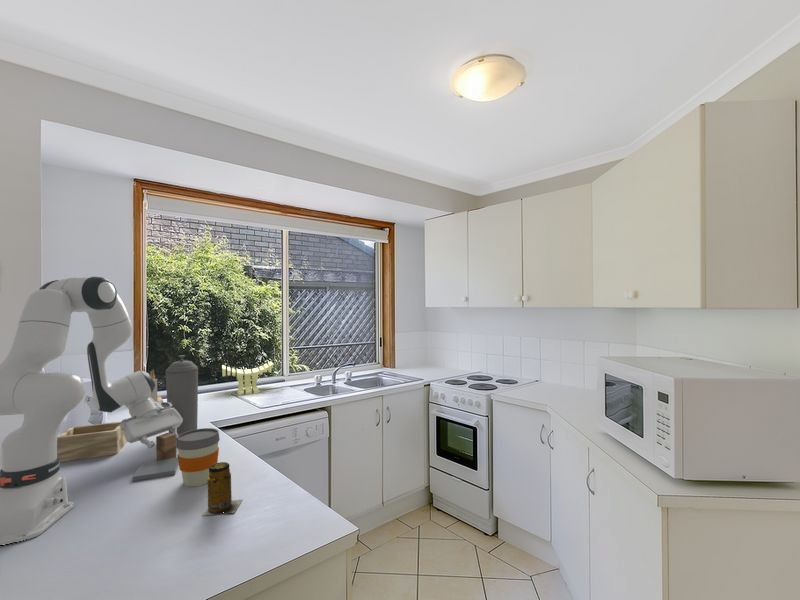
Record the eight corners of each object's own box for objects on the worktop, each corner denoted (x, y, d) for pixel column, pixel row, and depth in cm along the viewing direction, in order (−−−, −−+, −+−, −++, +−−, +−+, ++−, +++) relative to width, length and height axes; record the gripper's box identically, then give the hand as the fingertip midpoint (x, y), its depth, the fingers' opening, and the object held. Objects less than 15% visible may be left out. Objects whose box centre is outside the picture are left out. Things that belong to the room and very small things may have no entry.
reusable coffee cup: (178, 493, 117) (177, 444, 117) (175, 478, 128) (174, 432, 128) (223, 482, 124) (222, 435, 124) (217, 468, 135) (216, 425, 135)
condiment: (212, 502, 112) (211, 461, 112) (242, 500, 113) (241, 459, 113) (201, 516, 105) (201, 472, 105) (234, 514, 106) (233, 470, 106)
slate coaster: (175, 474, 131) (174, 470, 131) (132, 481, 126) (132, 476, 126) (180, 461, 142) (180, 457, 142) (141, 467, 137) (141, 462, 137)
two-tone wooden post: (144, 426, 184) (143, 372, 184) (142, 420, 193) (141, 369, 193) (163, 422, 189) (163, 370, 189) (160, 417, 198) (159, 367, 198)
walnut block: (176, 458, 145) (175, 434, 145) (164, 462, 140) (164, 438, 140) (168, 456, 146) (167, 432, 146) (156, 461, 142) (156, 436, 142)
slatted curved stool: (271, 386, 264) (270, 360, 264) (273, 391, 250) (273, 363, 250) (222, 391, 252) (222, 364, 252) (222, 396, 238) (222, 367, 238)
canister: (205, 432, 173) (204, 354, 173) (179, 441, 162) (177, 358, 162) (186, 428, 179) (185, 352, 179) (159, 437, 167) (158, 356, 167)
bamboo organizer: (117, 453, 150) (116, 430, 150) (57, 462, 143) (56, 437, 143) (126, 442, 162) (126, 420, 162) (71, 449, 155) (71, 427, 155)
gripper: (121, 415, 137) (140, 447, 133) (174, 401, 156) (192, 428, 152) (113, 427, 139) (131, 458, 135) (167, 411, 158) (184, 438, 154)
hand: (164, 442), depth 144 cm, fingers open, 8 cm apart
